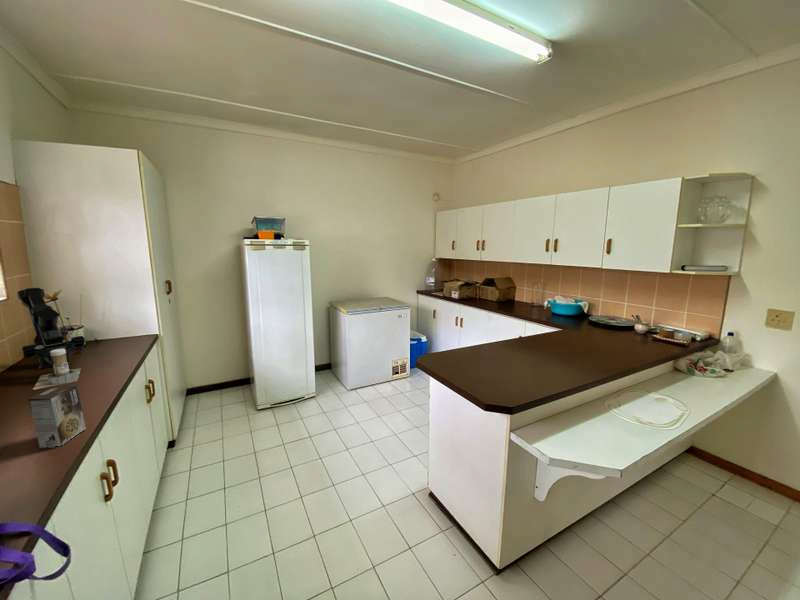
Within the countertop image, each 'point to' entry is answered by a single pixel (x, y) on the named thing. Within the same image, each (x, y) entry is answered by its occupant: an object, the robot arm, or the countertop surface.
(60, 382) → the steel collar
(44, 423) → the coffee box
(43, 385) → the birch board
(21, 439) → the countertop surface
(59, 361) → the sprinkles bottle
